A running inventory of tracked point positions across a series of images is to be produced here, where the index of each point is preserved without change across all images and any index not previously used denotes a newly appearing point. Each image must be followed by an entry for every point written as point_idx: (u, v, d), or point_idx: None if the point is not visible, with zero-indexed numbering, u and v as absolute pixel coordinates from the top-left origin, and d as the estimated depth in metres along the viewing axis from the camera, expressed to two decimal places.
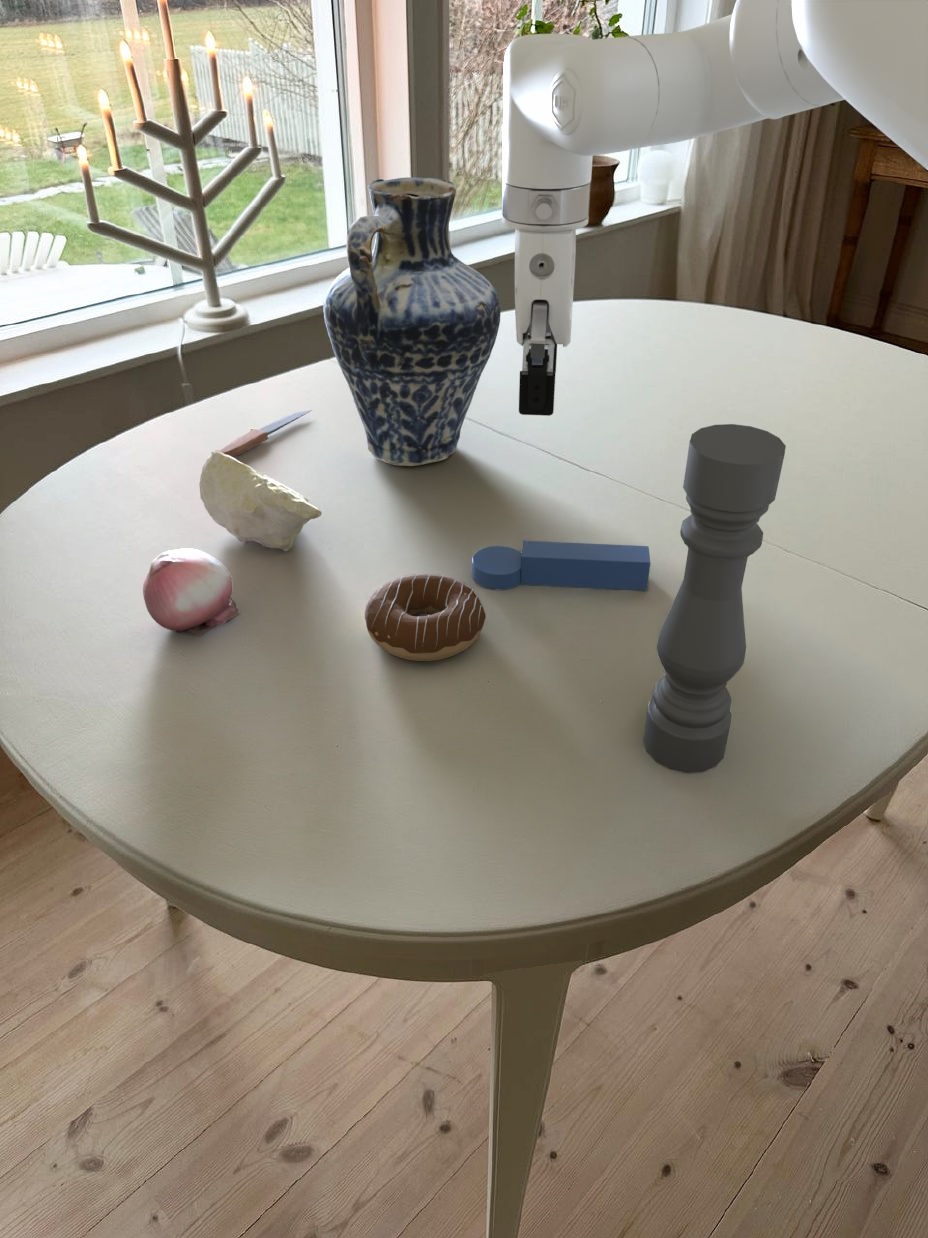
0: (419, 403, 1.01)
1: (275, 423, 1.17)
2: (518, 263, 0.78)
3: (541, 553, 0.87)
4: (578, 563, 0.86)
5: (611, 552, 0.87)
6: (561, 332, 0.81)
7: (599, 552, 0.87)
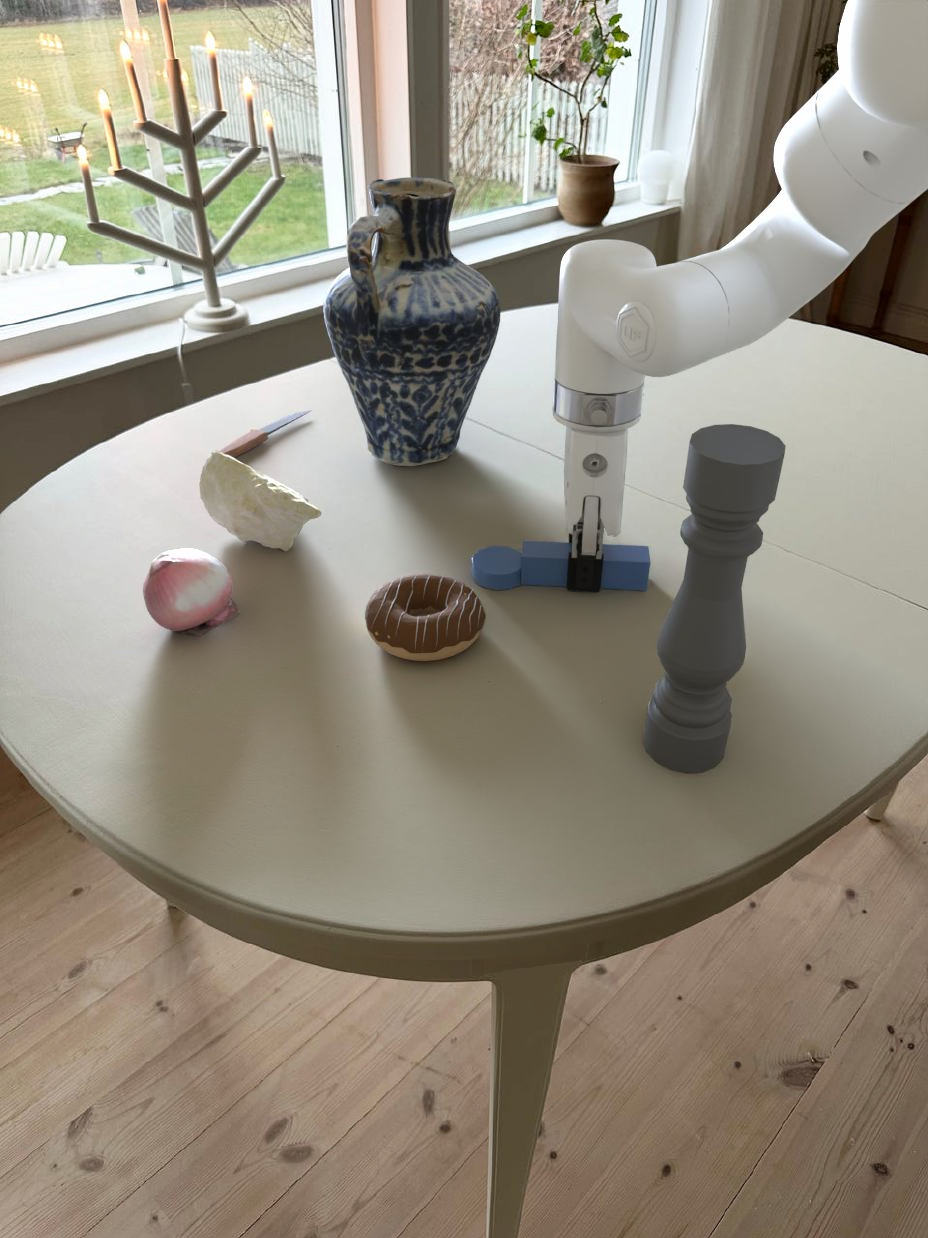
0: (419, 403, 1.01)
1: (275, 423, 1.17)
2: (570, 460, 0.77)
3: (541, 553, 0.87)
4: None
5: (611, 552, 0.87)
6: (612, 525, 0.80)
7: None
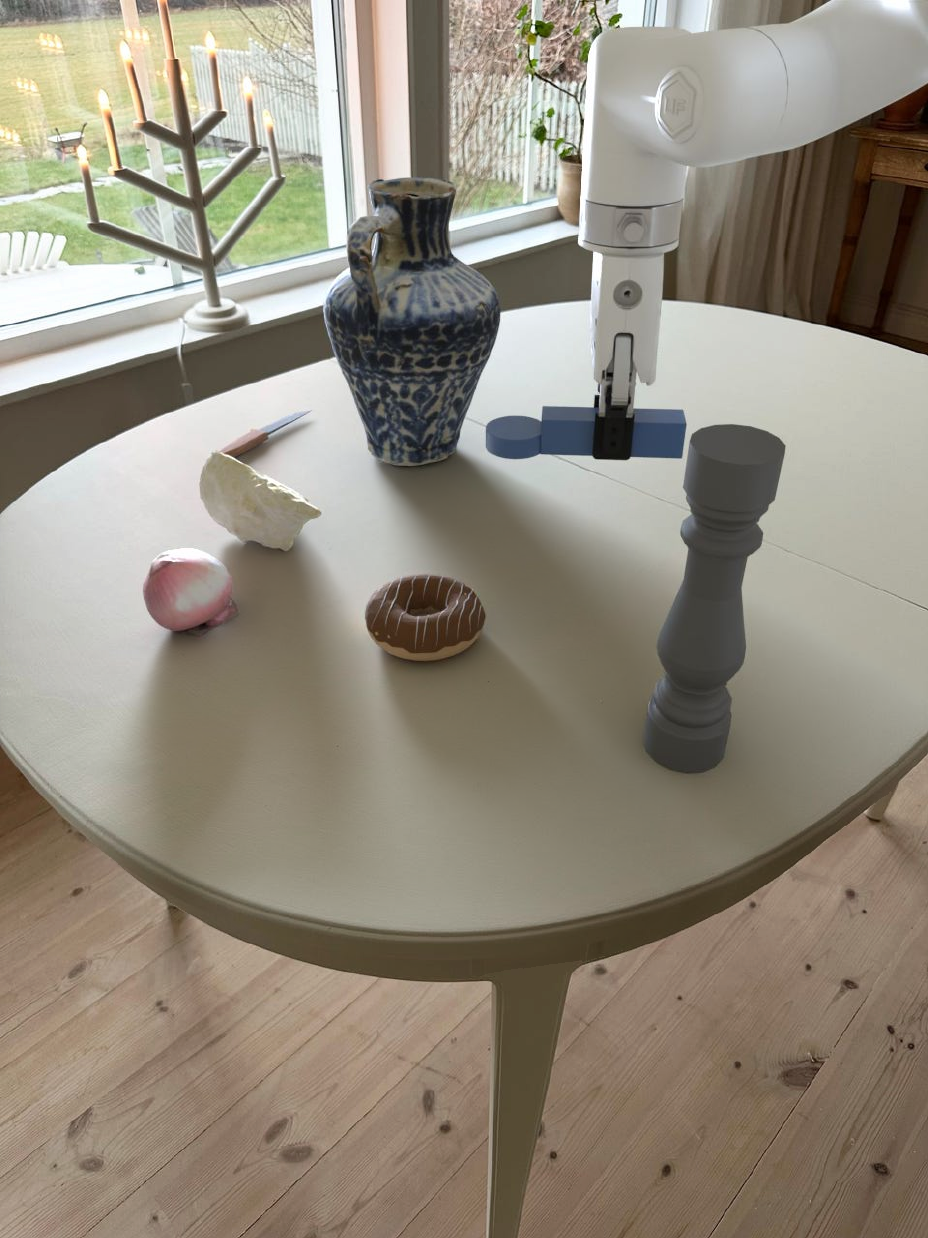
0: (419, 403, 1.01)
1: (275, 423, 1.17)
2: (599, 291, 0.68)
3: (564, 416, 0.78)
4: None
5: (642, 415, 0.78)
6: (647, 369, 0.70)
7: None
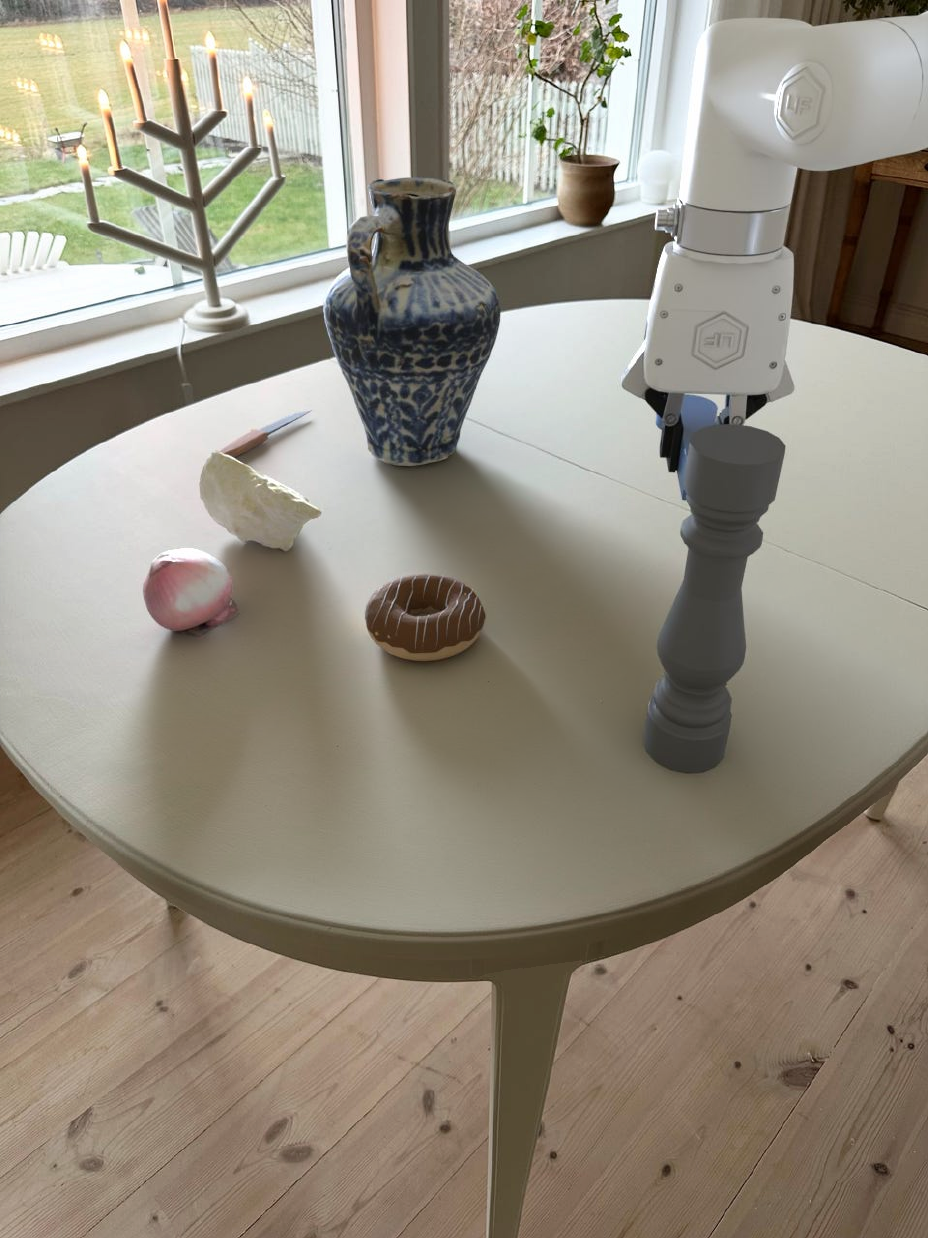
0: (419, 403, 1.01)
1: (275, 423, 1.17)
2: None
3: (684, 408, 0.77)
4: None
5: None
6: (645, 366, 0.69)
7: None
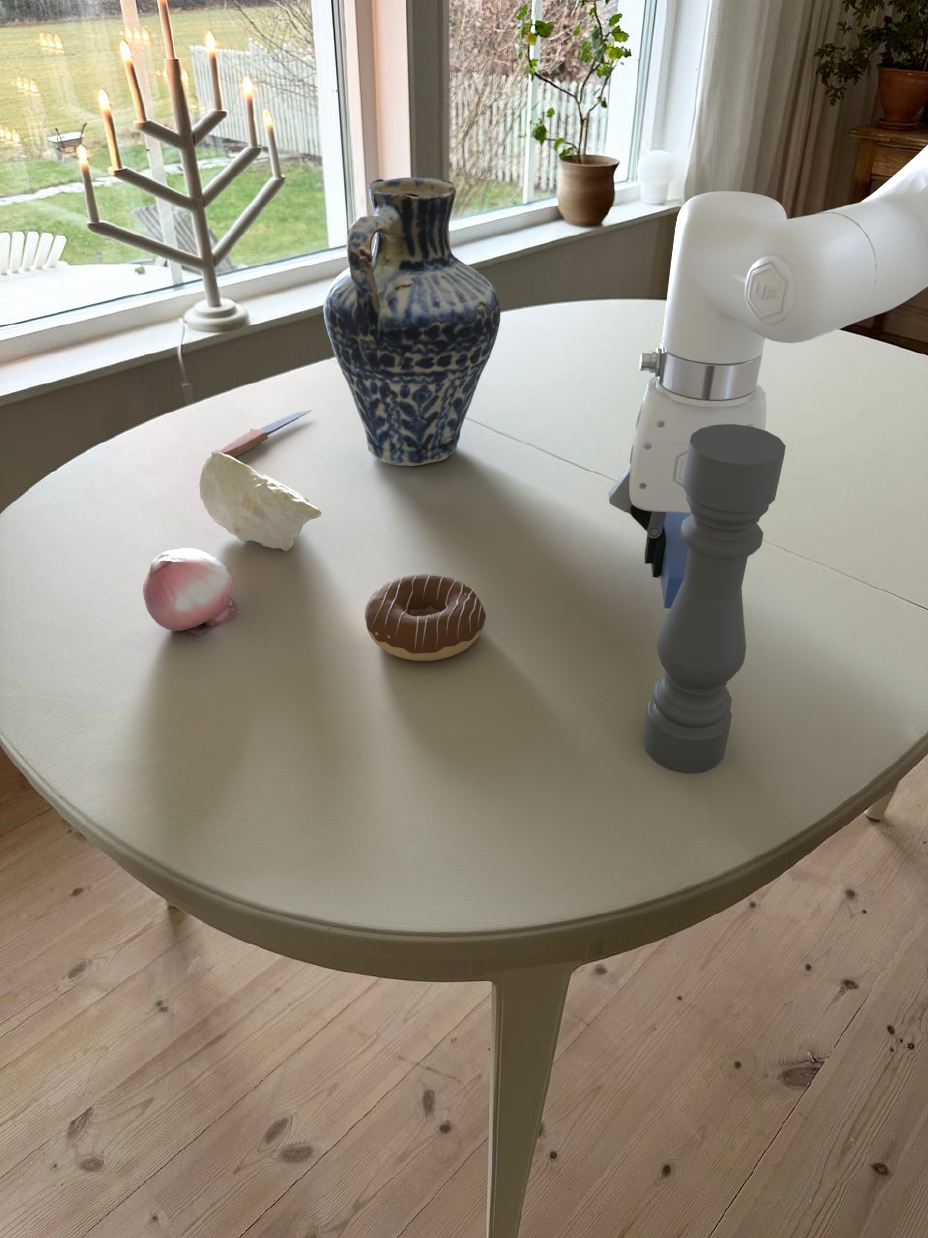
0: (419, 403, 1.01)
1: (275, 423, 1.17)
2: None
3: (668, 515, 0.83)
4: None
5: (683, 554, 0.78)
6: (630, 488, 0.75)
7: (680, 547, 0.79)
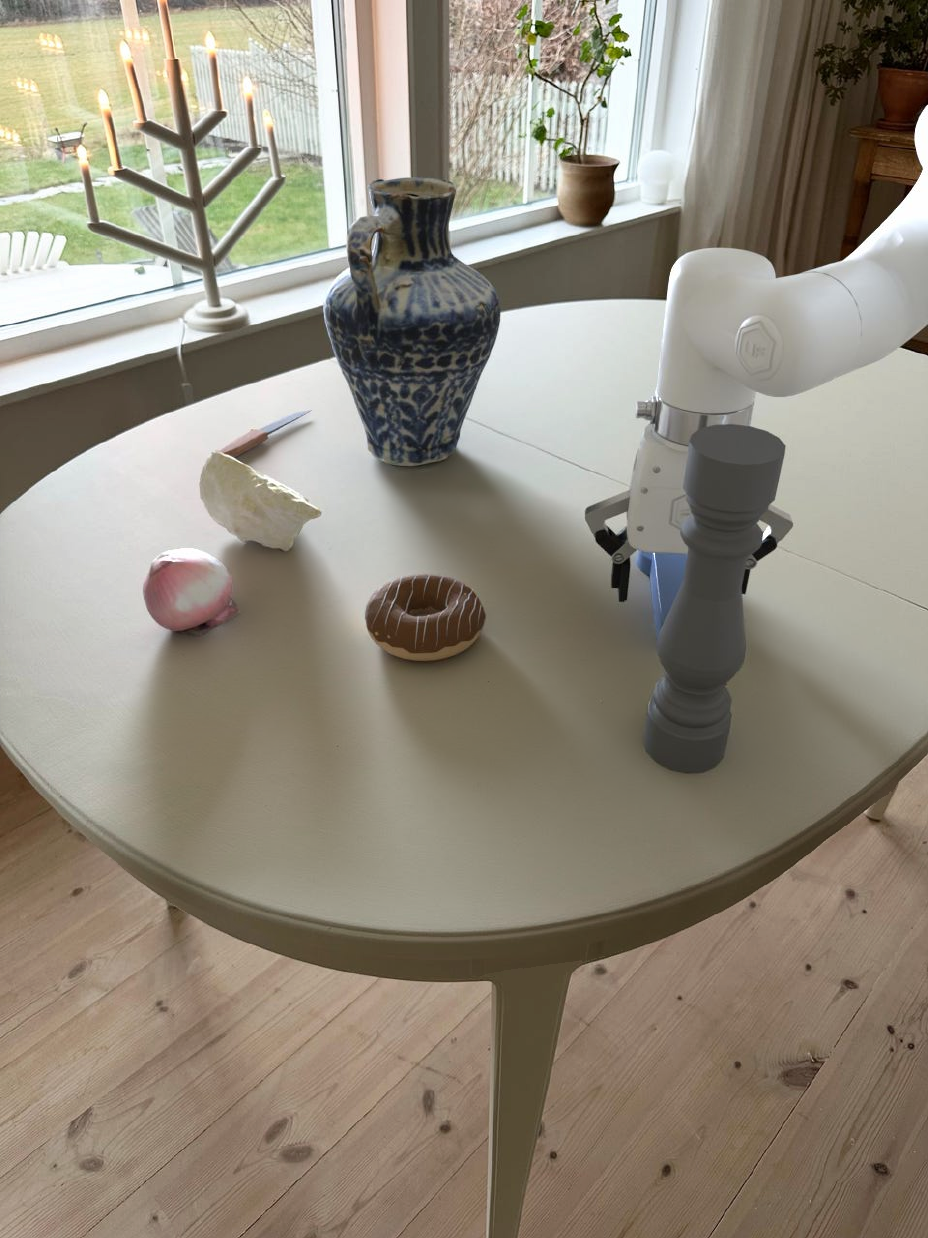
0: (419, 403, 1.01)
1: (275, 423, 1.17)
2: None
3: (662, 559, 0.86)
4: (656, 583, 0.83)
5: None
6: (628, 530, 0.77)
7: (673, 592, 0.81)
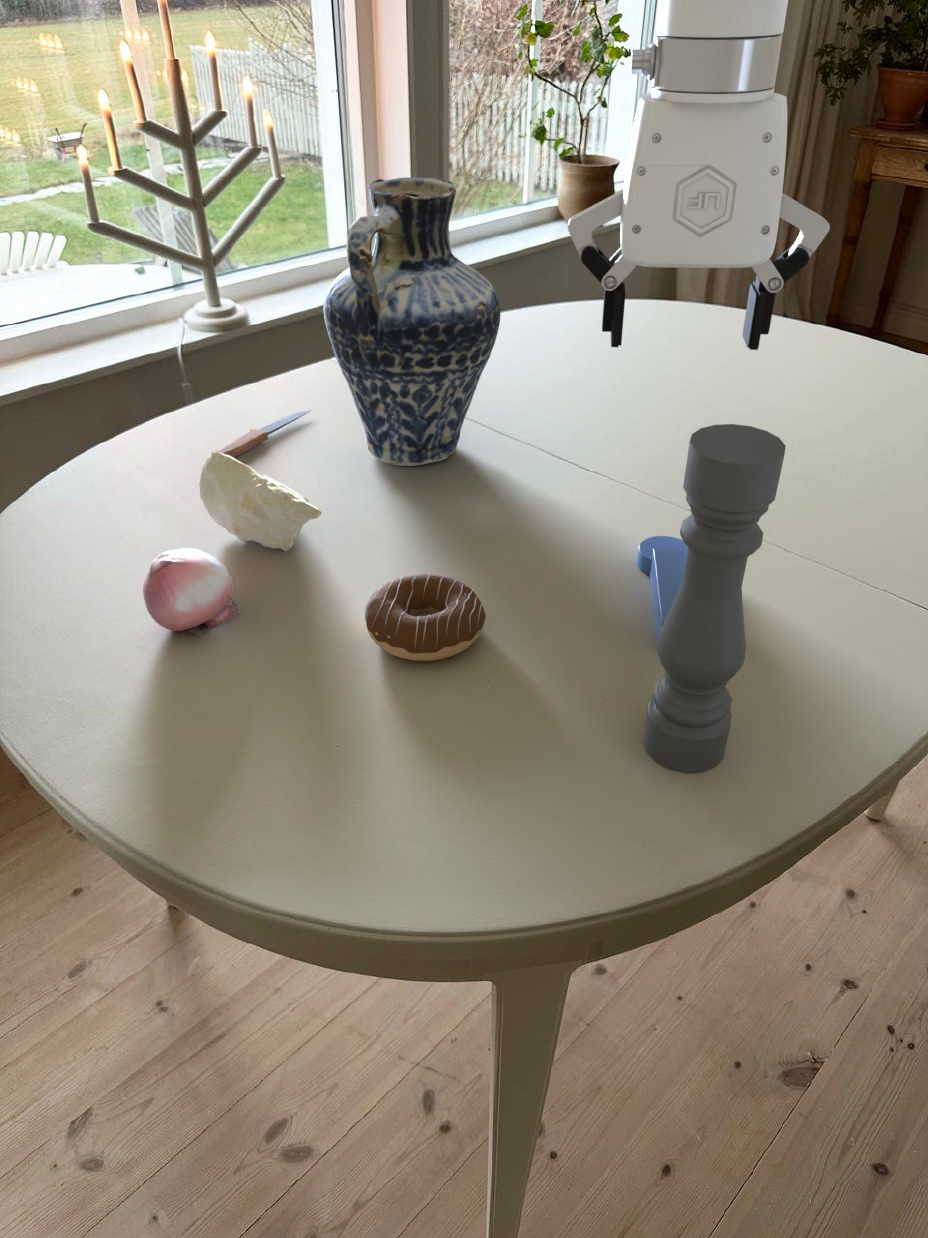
0: (419, 403, 1.01)
1: (275, 423, 1.17)
2: None
3: (662, 559, 0.86)
4: (656, 583, 0.83)
5: None
6: (621, 236, 0.62)
7: (673, 592, 0.81)
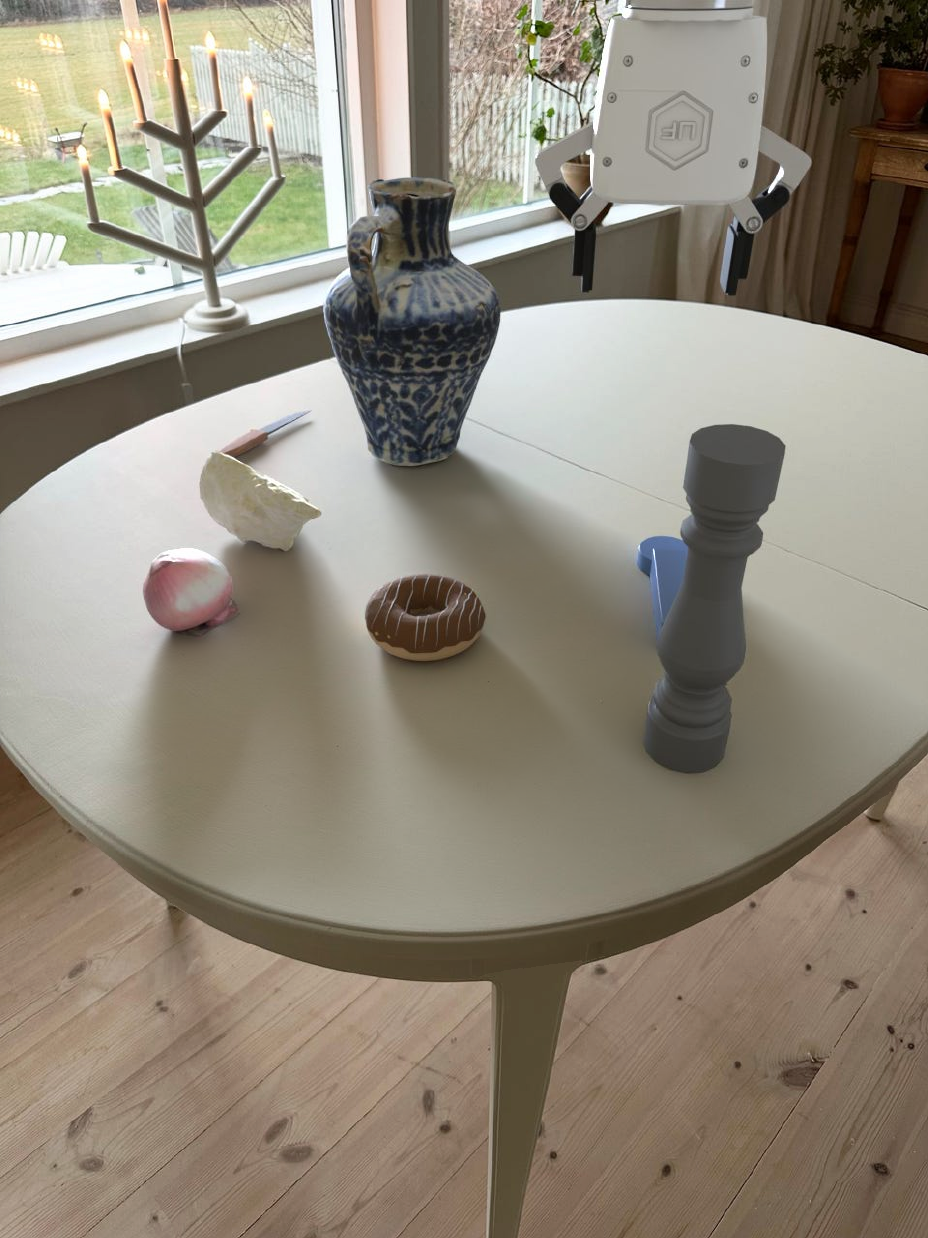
0: (419, 403, 1.01)
1: (275, 423, 1.17)
2: None
3: (662, 559, 0.86)
4: (656, 583, 0.83)
5: None
6: (591, 170, 0.58)
7: (673, 592, 0.81)
